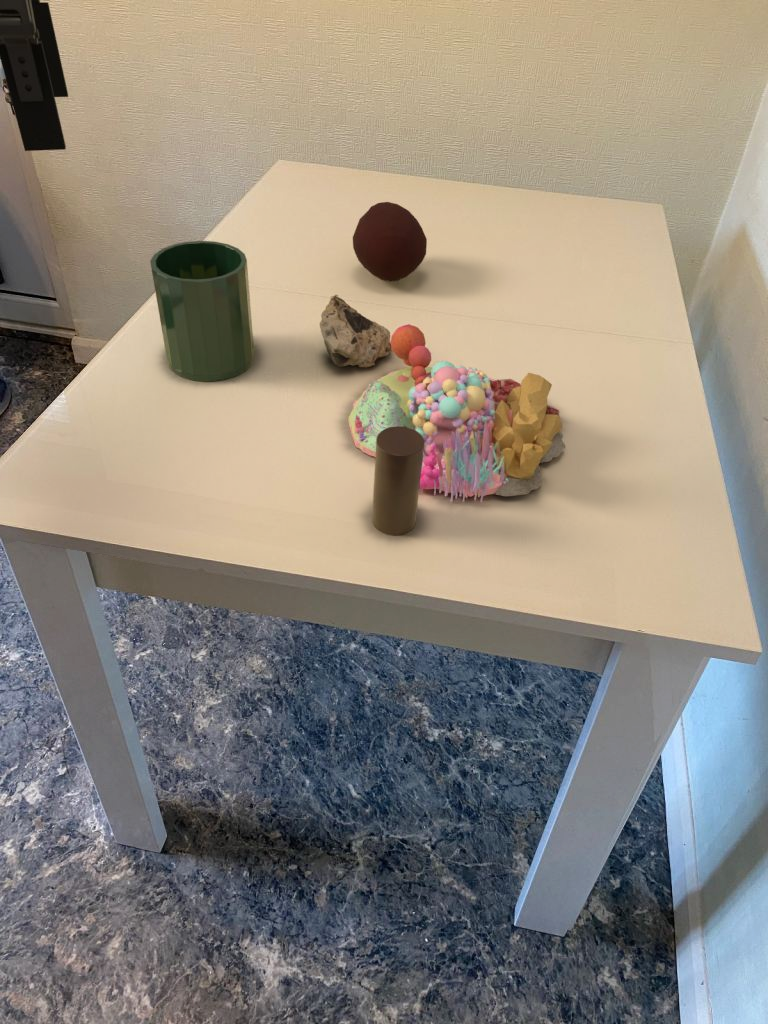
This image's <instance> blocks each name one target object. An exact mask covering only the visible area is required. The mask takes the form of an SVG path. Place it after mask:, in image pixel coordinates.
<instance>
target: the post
mask: <svg viewBox="0 0 768 1024" xmlns="http://www.w3.org/2000/svg"><path fill="white" fill-rule="evenodd" d="M423 452H424V439H423V437H422V435H421V434H420V433H419V432H417V431H415V430H413V429H411V428H407V427H400V426H396V427H390V428H387V429H384V430H383V431H381V432H380V433H379V434H378V436H377V439H376V456H375V457H374V473H373V475H374V476H373V492H372V493H373V494H372V508H371V509H372V512H371V521H372V524H373V526H374V527H375V528H376V530H378V531H379V532H381V533H383V534H386V535H391V536H401V535H404V534H407V533H409V532H410V531H412V530H413V529H414V527H415V526H416V522H417V513H418V505H419V497H420V489H419V488H420V479H421V470H422V461H423Z"/></svg>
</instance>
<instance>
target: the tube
mask: <svg viewBox="0 0 768 1024" xmlns="http://www.w3.org/2000/svg"><path fill="white" fill-rule="evenodd" d="M149 262H150V269H151V274H152V280H153V286H154V292H155V297H156V303H157V309H158V315H159V321H160V326H161V333H162V338H163V343H164V349H165V355H166V361H167V365H168V367H169V369H170V370H171V371H172V372H173V373H174V374H175V375H177V376H179V377H182V378H183V379H187V380H190V381H196V382H219V381H224V380H229V379H232V378H234V377H237V376H239V375H241V374H243V373H245V372H246V371H247V370H248V369H249V368H250V367H251V366H252V364H253V363H254V359H255V347H254V334H253V333H254V331H253V322H252V320H253V319H252V308H251V295H250V285H249V284H250V283H249V281H250V280H249V269H248V268H249V267H248V259H247V256H246V254H245V252H243V251H242V250H241V249H240V248H238V247H235V246H233V245H232V244H229V243H224V242H220V241H215V240H214V241H213V240H211V241H210V240H194V241H193V240H191V241H183V242H179V243H174V244H170V245H168V246H166V247H163V248H161V249H160V250H158V251H157V252H156V253H154V254H153V255H152V257H151V259H150V261H149Z"/></svg>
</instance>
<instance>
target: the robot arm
mask: <svg viewBox="0 0 768 1024" xmlns="http://www.w3.org/2000/svg"><path fill="white" fill-rule="evenodd" d="M0 62H1V66H2V69H3V74H4V77H5V81H6V85H7V88H8V89H7V90H8V93H9V96H10V100H11V104H12V108H13V111H14V116H15V119H16V122H17V123H16V124H17V126H18V130H19V133H20V139H21V141H22V145H23V149H24V152H34V151H35V152H36V151H37V152H38V151H63V150H66V148H67V147H66V140H65V136H64V133H63V127H62V124H61V119H60V115H59V110H58V107H57V106H58V105H57V102H56V101H57V100H56V98H68V97H69V92H68V87H67V83H66V78H65V74H64V68H63V66H62V65H63V64H62V60H61V55H60V51H59V46H58V41H57V36H56V32H55V27H54V23H53V18H52V13H51V9H50V4H49V2H45V1H43V2H41V0H0Z"/></svg>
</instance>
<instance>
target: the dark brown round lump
mask: <svg viewBox="0 0 768 1024" xmlns="http://www.w3.org/2000/svg"><path fill="white" fill-rule="evenodd" d="M426 236H427V235H426V234H425V231H424V230H423V228H422V226H421V224H420V222H419V220H418V219H417V218H416V217H415V215H413V213H412V212H411V211H410V210H408V209H407V208H405V207H403V206H402V205H399V204H398V203H394V202H390V201H383V202H377V203H376V204H374V205H371V206H370V207H369V209H368V210H367V211H365V213H364V214H363V215H362V216H361V217H360V218H359V219H358V222H357V225H356V227H355V230H354V233H353V235H352V249H353V251H354V254H355V256H356V258H357V260H358V262H359V263H360V264H361V265H362V267H363V268H364V269H365V270H366V271H367V272H369V273H370V274H371V275H372V276H374V277H376V278H378V279H380V280H382V281H385V282H397V281H400V280H403V279H406V278H407V277H408V276H410V275H412V273H414V272H415V271H416V270H417V269H418V267H419V266H420V265H421V264H422V263H423V261H424V260H425V257H426V255H427V245H428V238H427V237H426Z"/></svg>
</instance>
